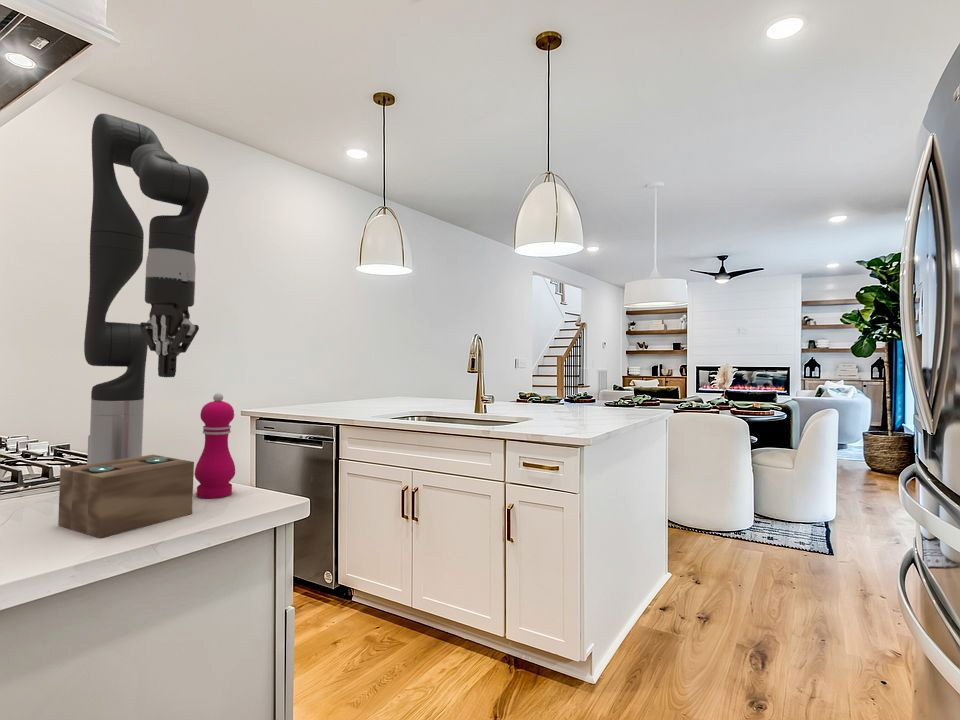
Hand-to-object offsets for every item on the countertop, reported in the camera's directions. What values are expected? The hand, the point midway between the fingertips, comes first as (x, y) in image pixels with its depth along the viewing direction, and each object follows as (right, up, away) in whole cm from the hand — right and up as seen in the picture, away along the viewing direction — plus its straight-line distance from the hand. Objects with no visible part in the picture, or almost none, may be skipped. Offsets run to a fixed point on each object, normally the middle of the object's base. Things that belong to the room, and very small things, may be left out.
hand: (166, 376), depth 95 cm
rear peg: (-1, -23, -1) cm, 23 cm away
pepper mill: (+2, -24, +12) cm, 27 cm away
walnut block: (-3, -23, -5) cm, 24 cm away
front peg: (-5, -22, -9) cm, 24 cm away
